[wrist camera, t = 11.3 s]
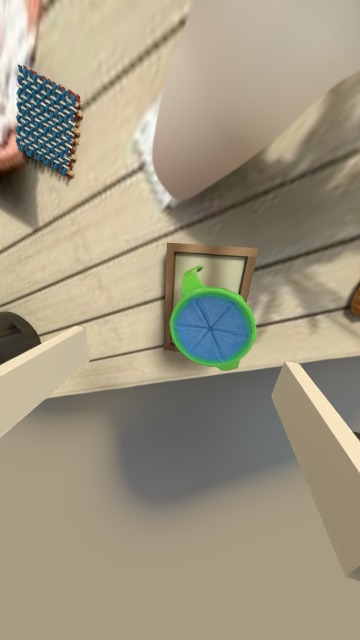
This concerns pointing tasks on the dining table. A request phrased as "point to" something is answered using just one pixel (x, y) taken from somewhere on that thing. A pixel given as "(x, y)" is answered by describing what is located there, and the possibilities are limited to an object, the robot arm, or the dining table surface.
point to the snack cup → (212, 324)
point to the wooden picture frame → (206, 273)
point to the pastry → (356, 303)
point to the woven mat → (47, 121)
